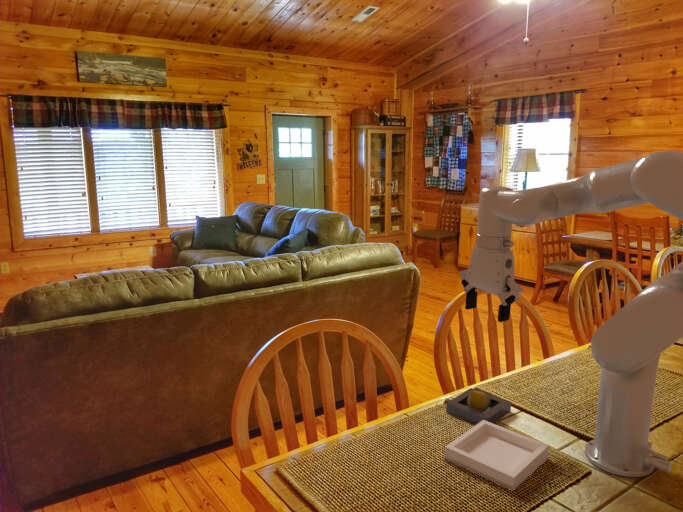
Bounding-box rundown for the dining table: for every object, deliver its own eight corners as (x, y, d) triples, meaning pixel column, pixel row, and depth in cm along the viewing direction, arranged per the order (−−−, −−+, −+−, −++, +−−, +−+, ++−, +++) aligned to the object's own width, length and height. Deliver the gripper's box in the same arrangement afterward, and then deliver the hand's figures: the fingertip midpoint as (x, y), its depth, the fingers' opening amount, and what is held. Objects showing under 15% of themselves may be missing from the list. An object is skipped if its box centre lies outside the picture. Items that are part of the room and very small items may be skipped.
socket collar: (510, 411, 129) (511, 401, 129) (487, 428, 122) (487, 418, 121) (470, 396, 137) (470, 387, 136) (446, 412, 129) (446, 402, 129)
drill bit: (496, 412, 130) (485, 398, 123) (475, 419, 131) (463, 405, 124) (489, 392, 133) (478, 377, 126) (468, 399, 135) (457, 384, 128)
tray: (548, 458, 110) (549, 445, 109) (513, 492, 99) (513, 477, 99) (482, 432, 120) (483, 419, 120) (444, 459, 110) (445, 446, 109)
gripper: (536, 247, 115) (528, 322, 119) (475, 234, 129) (469, 301, 133) (513, 251, 111) (505, 329, 115) (453, 236, 125) (447, 306, 129)
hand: (486, 314), depth 124 cm, fingers open, 9 cm apart
